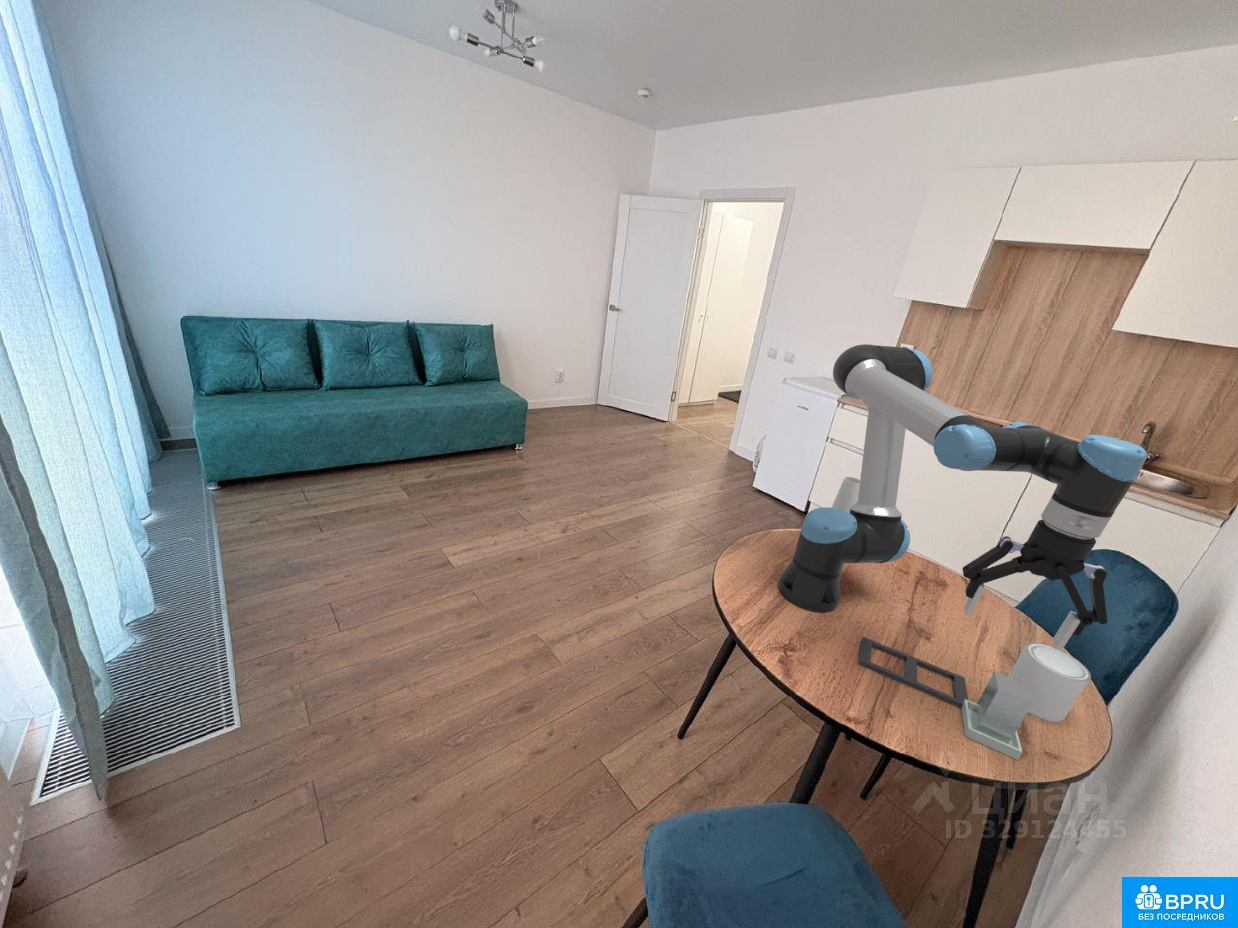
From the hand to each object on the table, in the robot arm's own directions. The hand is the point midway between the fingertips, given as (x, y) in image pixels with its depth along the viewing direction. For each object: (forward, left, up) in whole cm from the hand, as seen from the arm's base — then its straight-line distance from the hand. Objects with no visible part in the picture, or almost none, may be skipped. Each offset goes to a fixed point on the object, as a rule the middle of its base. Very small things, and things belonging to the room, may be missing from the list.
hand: (1010, 627), depth 86 cm
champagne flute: (-32, +48, -21) cm, 61 cm away
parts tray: (+3, -4, -20) cm, 21 cm away
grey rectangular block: (+3, -4, -20) cm, 20 cm away
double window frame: (-10, +4, -20) cm, 23 cm away
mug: (+13, +13, -21) cm, 27 cm away
